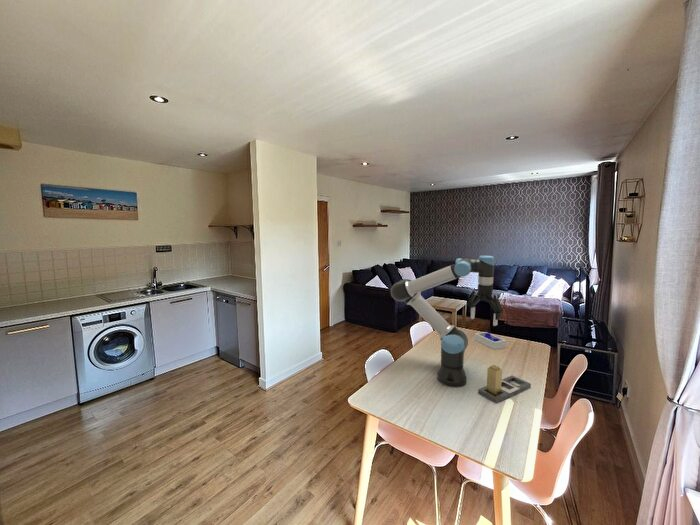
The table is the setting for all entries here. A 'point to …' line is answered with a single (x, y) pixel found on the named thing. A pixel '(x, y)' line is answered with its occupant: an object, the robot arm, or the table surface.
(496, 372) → the brass peg
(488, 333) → the blue arch block
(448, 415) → the table surface
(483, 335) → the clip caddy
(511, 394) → the grey peg hole board
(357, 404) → the table surface
